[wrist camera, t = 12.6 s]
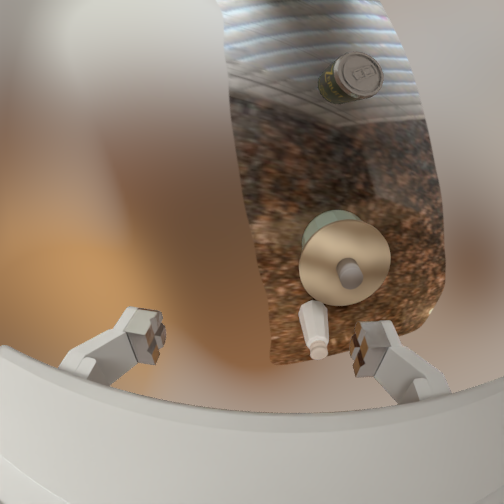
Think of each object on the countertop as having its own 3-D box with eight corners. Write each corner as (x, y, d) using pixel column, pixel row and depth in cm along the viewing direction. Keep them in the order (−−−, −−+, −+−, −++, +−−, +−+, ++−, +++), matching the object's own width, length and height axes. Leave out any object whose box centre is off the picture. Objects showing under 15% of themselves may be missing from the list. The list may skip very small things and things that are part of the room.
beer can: (342, 64, 30) (369, 44, 19) (359, 96, 32) (393, 89, 21) (309, 77, 31) (325, 58, 21) (328, 109, 33) (351, 105, 23)
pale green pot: (304, 207, 40) (310, 224, 34) (373, 212, 39) (389, 229, 33) (298, 270, 45) (302, 295, 39) (360, 273, 44) (372, 296, 38)
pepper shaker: (333, 307, 48) (343, 351, 38) (314, 325, 50) (320, 369, 41) (310, 294, 47) (317, 338, 37) (292, 314, 49) (294, 358, 40)
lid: (303, 216, 34) (307, 228, 30) (396, 223, 33) (409, 235, 29) (294, 300, 39) (296, 318, 36) (376, 301, 39) (383, 318, 35)
